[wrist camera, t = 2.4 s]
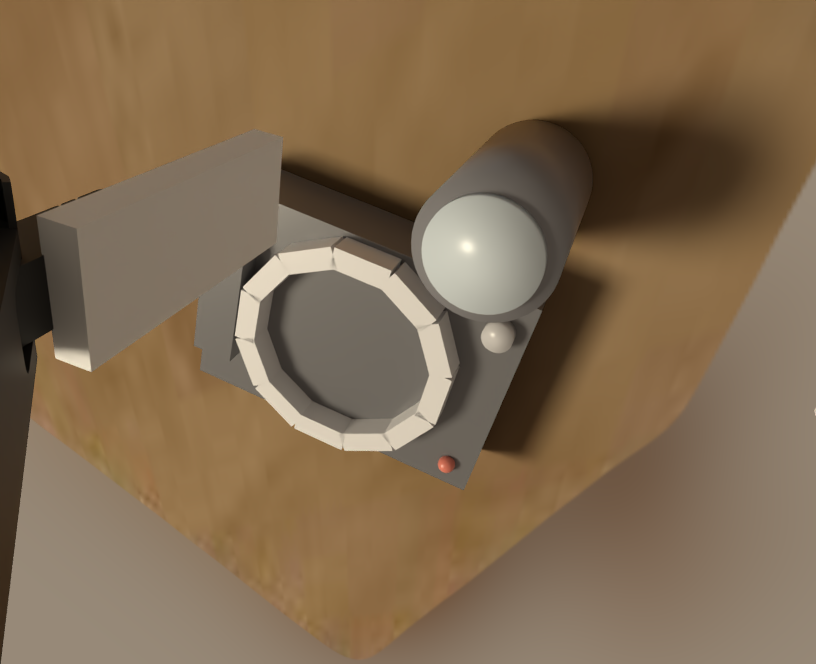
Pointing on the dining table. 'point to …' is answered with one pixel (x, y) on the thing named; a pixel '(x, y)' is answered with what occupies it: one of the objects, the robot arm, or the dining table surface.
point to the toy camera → (359, 338)
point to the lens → (504, 223)
